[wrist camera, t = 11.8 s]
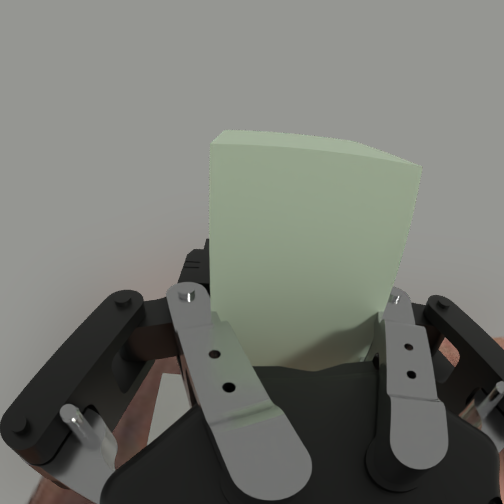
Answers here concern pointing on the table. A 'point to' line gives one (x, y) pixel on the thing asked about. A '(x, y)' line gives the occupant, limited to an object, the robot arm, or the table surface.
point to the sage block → (305, 243)
